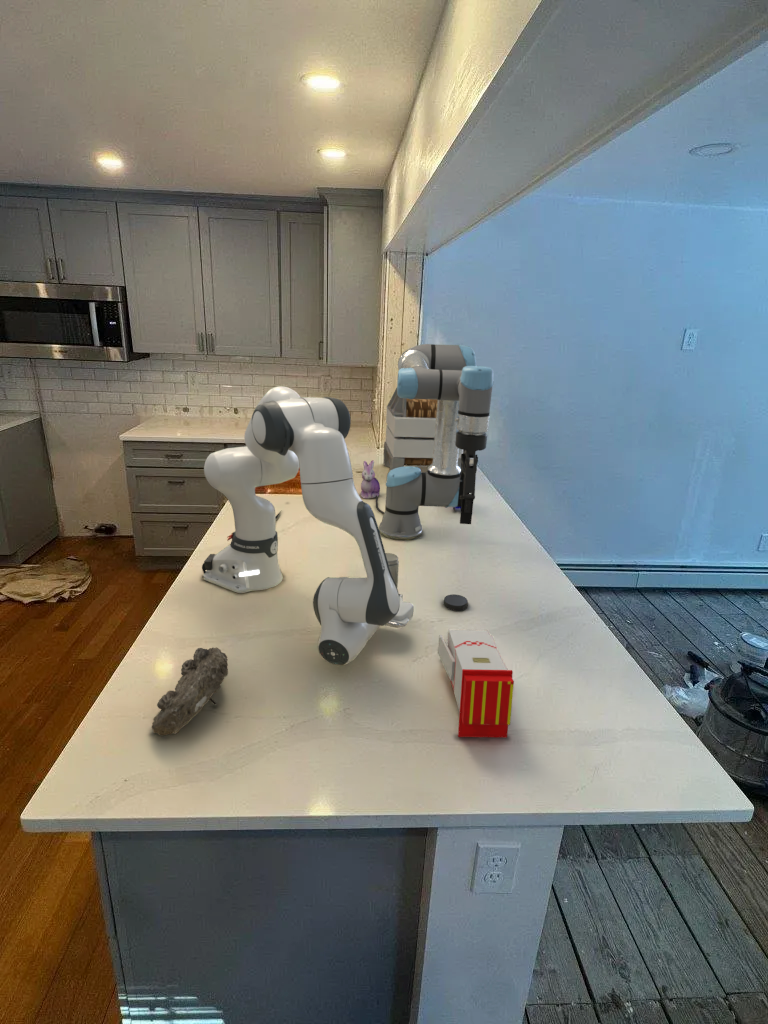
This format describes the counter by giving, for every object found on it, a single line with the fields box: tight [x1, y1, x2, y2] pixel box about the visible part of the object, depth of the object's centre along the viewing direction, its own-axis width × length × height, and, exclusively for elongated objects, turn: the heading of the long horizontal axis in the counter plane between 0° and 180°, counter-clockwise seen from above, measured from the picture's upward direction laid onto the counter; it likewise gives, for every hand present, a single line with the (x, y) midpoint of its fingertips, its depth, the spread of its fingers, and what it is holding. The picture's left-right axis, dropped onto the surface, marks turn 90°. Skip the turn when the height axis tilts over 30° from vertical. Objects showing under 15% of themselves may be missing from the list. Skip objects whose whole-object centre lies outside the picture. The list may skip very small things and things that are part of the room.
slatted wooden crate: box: [383, 387, 463, 472], centre depth 268 cm, size 34×33×41 cm
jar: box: [385, 552, 400, 587], centre depth 147 cm, size 6×6×15 cm
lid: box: [443, 593, 469, 612], centre depth 153 cm, size 6×6×2 cm
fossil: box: [152, 646, 229, 736], centre depth 110 cm, size 22×10×15 cm
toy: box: [437, 628, 515, 738], centre depth 117 cm, size 12×13×30 cm
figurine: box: [359, 460, 381, 499], centre depth 236 cm, size 9×10×15 cm
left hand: (382, 592), depth 145 cm, fingers open, 8 cm apart
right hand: (463, 514), depth 145 cm, fingers open, 13 cm apart
